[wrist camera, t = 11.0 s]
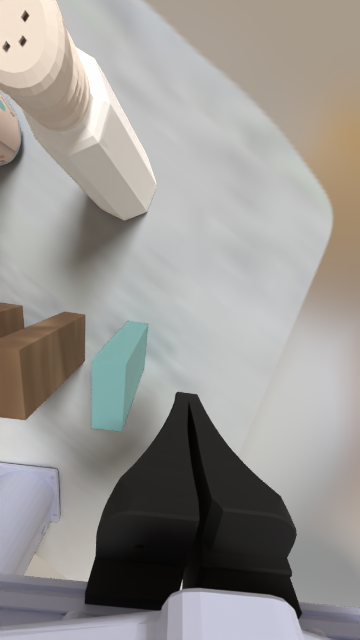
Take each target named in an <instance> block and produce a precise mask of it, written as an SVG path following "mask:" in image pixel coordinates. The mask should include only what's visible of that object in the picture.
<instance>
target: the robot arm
mask: <svg viewBox="0 0 360 640" xmlns="http://www.w3.org/2000/svg"><path fill="white" fill-rule="evenodd" d="M59 519H60V504H59V478H58V470H57V469H53V468H44V467H35V466H26V465H17V464H8V463H0V640H360V608H357V607H346V606H336V605H325V604H315V603H304V602H298V600H297V597H296V594H295V591H294V588H293V585H292V582H291V580H290V577H291V576H292V571H291V568H290V565H289V562H288V560H287V557H288V555H289V553H290V551H291V549H292V547H293V545H294V542H295V539H296V535H297V534H296V528H295V526H294V524H293V521H292V519H291V516H290V514H289V512H288V510H287V508H286V506H285V504H284V502H283V500H282V498H281V496H280V495H279V494H277V493H276V492H275V491H274V490H273V489H271V488H270V487H269V486H268V485H267V484H265V483H264V482H263V481H262V480H261V479H260V478H258V476H256V475H255V474H254V473H253V472H252V471H251V470H250V469H249V468H248V467H247V466H246V465H245V464H244V463H243V462H242V461H241V460H240V459H239V457H238V456H237V455H236V454H235V453H234V452H233V451H232V450H231V448H230V447H229V446H228V445H227V443H226V442H225V441H224V439H223V438H222V437H221V435H220V434H219V432H218V431H217V429H216V428H215V426H214V425H213V423H212V422H211V420H210V418H209V416H208V415H207V413H206V411H205V409H204V407H203V405H202V403H201V401H200V399H199V397H198V395H197V394H190V393H183V392H177V393H176V395H175V401H174V404H173V407H172V409H171V412H170V414H169V416H168V418H167V420H166V422H165V423H164V425H163V427H162V429H161V430H160V432H159V433H158V435H157V436H156V438H155V439H154V441H153V442H152V443H151V445H150V446H149V447H148V449H147V450H146V451H145V452H144V453H143V455H142V456H141V457H140V458H139V459H138V460H137V462H136V463H135V464H134V465H133V466H132V467H131V468H130V469H129V470H128V471H127V472H126V473H125V474H124V475H123V476H122V477H121V478H120V479H119V481H118V483H117V484H116V486H115V488H114V490H113V491H112V493H111V495H110V497H109V499H108V501H107V503H106V505H105V508H104V510H103V513H102V516H101V519H100V523H99V526H98V530H97V536H96V557H95V560H94V564H93V567H92V570H91V574H90V577H89V581H88V582H83V581H73V580H62V579H52V578H40V577H31V576H23V575H24V573H25V571H26V569H27V567H28V565H29V563H30V562H31V560H32V558H33V556H34V554H35V552H36V550H37V548H38V546H39V544H40V542H41V540H42V538H43V536H44V534H45V532H46V530H47V528H48V526H49V524H50V522H58V521H59ZM182 579H183V585H182V590H180V586H181V583H182ZM179 590H180V591H179Z"/></svg>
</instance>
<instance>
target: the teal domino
mask: <svg viewBox="0 0 360 640" xmlns="http://www.w3.org/2000/svg"><path fill="white" fill-rule="evenodd" d="M147 333H148V323H141V322H133V321H127V323H126V324H125V325H124V326H123V327H122V328H121V329H120V330H119V331H118V332H117V333H116V334H115V335H114V337H113V338H112V339H111V340H110V341H109V342H108V343H107V344H106V345H105V346H104V347H103V348H102V349H101V351H100V352H99V353H98V354H97V355H96V356H95V357H94V358H93V359H92V398H91V428H94V429H103V430H112V431H121V432H122V430H123V427H124V424H125V421H126V418H127V416H128V413H129V410H130V407H131V404H132V401H133V399H134V396H135V393H136V390H137V387H138V384H139V382H140V379H141V376H142V373H143V370H144V365H145V354H146V343H147Z"/></svg>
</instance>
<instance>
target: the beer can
mask: <svg viewBox="0 0 360 640" xmlns="http://www.w3.org/2000/svg"><path fill="white" fill-rule="evenodd" d="M20 145H21V128H20V124H19V120H18V118H17V116H16V113H15V111H14V110H13V108H12V107H11V105H10V103H9V102H8V101H7V100H6V99H5V98H4V97H3V96H2V95H1V94H0V166H2V165H5V164H8V163H9V162H11V161H12V160H13V159H14V158H15V156H16V155H17V153H18V152H19V148H20Z"/></svg>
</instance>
